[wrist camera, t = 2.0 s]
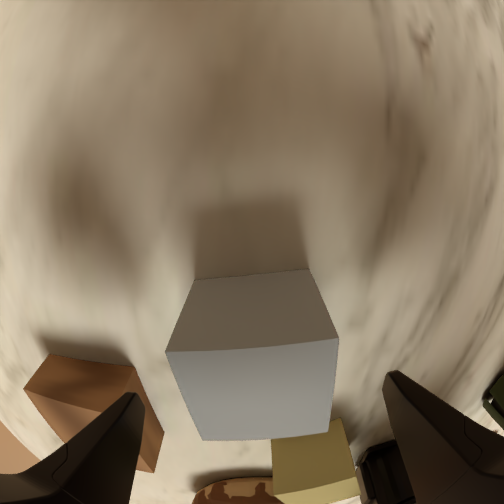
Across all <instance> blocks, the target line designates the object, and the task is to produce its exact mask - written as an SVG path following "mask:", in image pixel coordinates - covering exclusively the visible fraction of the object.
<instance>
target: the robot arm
mask: <svg viewBox="0 0 504 504" xmlns="http://www.w3.org/2000/svg"><path fill="white" fill-rule="evenodd" d="M382 391H383V396H384V400H385V404H386V408H387V412H388V416H389V420H390V424H391V427H392V430H393V433H394V436H395V438H396V441H392V442H389V443H386V444H382V445H379V446H375V447H372V448H369V449H368V450H367V451H366V452H365V455H364V457H363V459H362V461H361V463H360V465H359V466H358V468H357V470H356V475H357V479H358V483H359V487H360V491H361V495H360V499H361V503H362V504H504V437H503V436H501V435H499V434H497V433H495V432H493V431H491V430H489V429H487V428H485V427H483V426H481V425H480V424H478V423H476V422H475V421H473V420H472V419H470V418H469V417H467V416H464V414H462V413H461V412H459V411H458V410H456V409H455V408H453V407H452V406H450V405H449V404H447V403H446V402H444V401H443V400H441V399H440V398H438V397H437V396H435V395H434V394H432V393H431V392H429V391H428V390H427V389H425V388H424V387H422V386H421V385H419V384H418V383H416V382H415V381H413V380H412V379H410V378H409V377H407V376H406V375H404V374H403V373H401V372H400V371H398V370H394V371H390V372H387V374H386V376H385V380H384V384H383V388H382ZM145 411H146V409H145V405H144V403H143V402H142V400H141V398H140V396H139V394H138V393H137V392H130V391H128V392H126V393H124V394H123V395H122V396H121V397H120V398H118V399H117V400H116V401H115V402H114V403H113V404H111V405H110V406H109V407H108V408H107V409H106V410H104V411H103V412H102V413H101V414H100V415H99V416H97V417H96V418H95V419H94V420H93V421H91V422H90V423H89V424H88V425H87V426H85V427H84V428H83V429H82V430H81V431H79V432H78V433H77V434H76V435H75V436H73V437H72V438H71V439H70V440H69V441H67V442H66V443H65V444H64V445H62V446H61V447H60V448H59V449H57V450H56V451H55V452H53V453H52V454H51V455H49V456H48V457H46V458H45V459H43V460H42V461H40V462H39V463H37V464H35V465H34V466H32V467H30V468H29V469H27V470H26V471H24V472H21V473H18V474H0V504H129V500H130V495H131V490H132V485H133V480H134V475H135V471H136V466H137V462H138V457H139V453H140V449H141V444H142V436H143V427H144V419H145Z"/></svg>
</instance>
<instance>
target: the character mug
mask: <svg viewBox="0 0 504 504" xmlns="http://www.w3.org/2000/svg"><path fill="white" fill-rule="evenodd" d="M489 392H490V393H491V394H492V396H493V400H492V402H491V404H490V403H489V401H488V400H487V399H486V398H485V399H484V402H483V407H484V408H485V409H486V411H487V412H488V413H489V414H490V415H491V417H492V418H493V419H494V420H495V421H496V422H497V423H498V424H499V425H500V426H501V428H502V429H503V430H504V374H503V375H502V376H501V377H500V378H499V380H498V381H497V382H496V383H495V384H494V386H493V387H492V388H491V390H490V391H489Z"/></svg>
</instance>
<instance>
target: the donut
mask: <svg viewBox="0 0 504 504" xmlns="http://www.w3.org/2000/svg"><path fill="white" fill-rule="evenodd" d="M192 504H285V503H283V502H282V501H280V500H279V499H278V498H276V497H275V496H274V492H273V477H249V478H235V479H229V480H222V481H219V482H215V483H212V484H210V485H209V486H207V487H205V488H203V489H201V490H199V491H198V492H197V494H196V495H195V498H194V500H193V502H192Z"/></svg>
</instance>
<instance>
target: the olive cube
mask: <svg viewBox="0 0 504 504" xmlns="http://www.w3.org/2000/svg"><path fill="white" fill-rule="evenodd" d="M271 450H272V470H273V492H274V496H275V497H276V498H278V499H279V500H280V501H282V502H283V503H285V504H329V503H333V502H337V501H341V500H344V499H348V498H351V497H355V496H358V495H361V491H360V487H359V483H358V479H357V475H356V471H355V467H354V463H353V459H352V455H351V451H350V448H349V444H348V441H347V437H346V434H345V430H344V427H343V424H342V421H341V418H338V419H335V420H332V421H330V422H329V428H328V432H324V433H317V434H311V435H304V436H296V437H287V438H276V439H271Z"/></svg>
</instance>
